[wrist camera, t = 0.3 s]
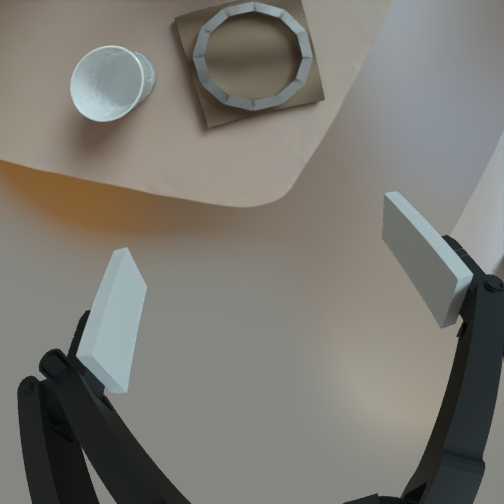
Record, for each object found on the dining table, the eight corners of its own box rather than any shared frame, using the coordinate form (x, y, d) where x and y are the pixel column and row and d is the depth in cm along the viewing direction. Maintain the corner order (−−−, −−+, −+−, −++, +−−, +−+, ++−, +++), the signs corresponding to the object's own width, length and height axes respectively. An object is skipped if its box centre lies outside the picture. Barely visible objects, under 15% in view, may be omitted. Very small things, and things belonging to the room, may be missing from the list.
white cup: (155, 42, 30) (136, 35, 22) (166, 98, 35) (150, 109, 27) (97, 60, 30) (63, 62, 22) (109, 114, 35) (79, 131, 26)
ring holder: (175, 19, 29) (172, 16, 27) (295, -7, 28) (301, -12, 26) (208, 125, 37) (207, 130, 35) (321, 98, 37) (328, 101, 34)
